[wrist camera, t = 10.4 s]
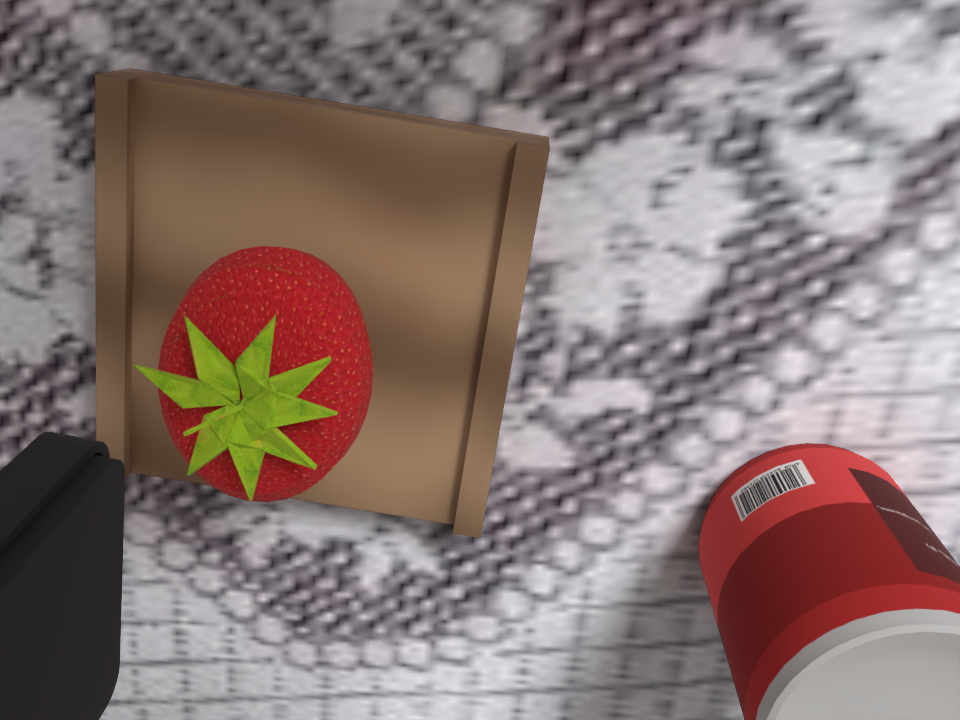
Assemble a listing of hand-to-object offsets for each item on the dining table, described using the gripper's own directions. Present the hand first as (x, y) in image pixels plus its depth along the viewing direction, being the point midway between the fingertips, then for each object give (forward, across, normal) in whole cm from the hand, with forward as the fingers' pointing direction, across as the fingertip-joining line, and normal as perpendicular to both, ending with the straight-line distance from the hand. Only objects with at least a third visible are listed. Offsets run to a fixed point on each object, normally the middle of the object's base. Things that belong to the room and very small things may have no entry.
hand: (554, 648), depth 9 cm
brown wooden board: (+23, +7, +6) cm, 25 cm away
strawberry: (+21, +7, +6) cm, 23 cm away
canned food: (+23, -12, +11) cm, 29 cm away
